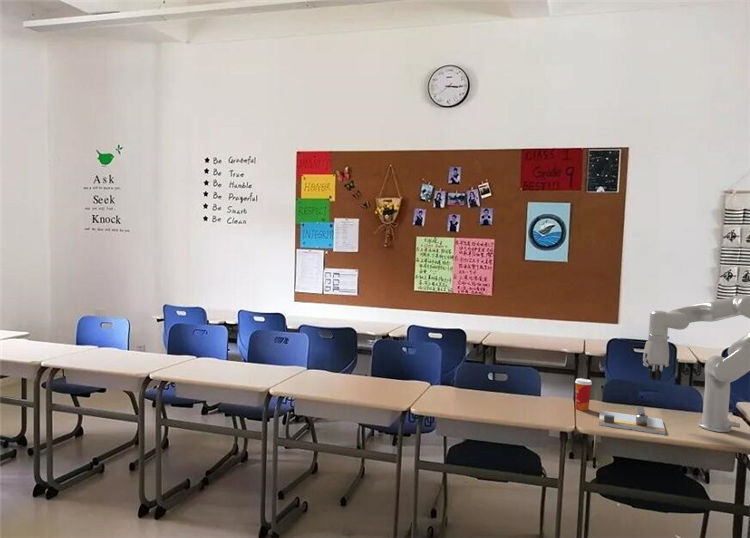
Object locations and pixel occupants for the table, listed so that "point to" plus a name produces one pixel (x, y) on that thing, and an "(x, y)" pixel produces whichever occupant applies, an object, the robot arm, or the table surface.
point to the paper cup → (583, 394)
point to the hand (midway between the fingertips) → (655, 379)
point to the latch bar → (641, 416)
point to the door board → (630, 422)
